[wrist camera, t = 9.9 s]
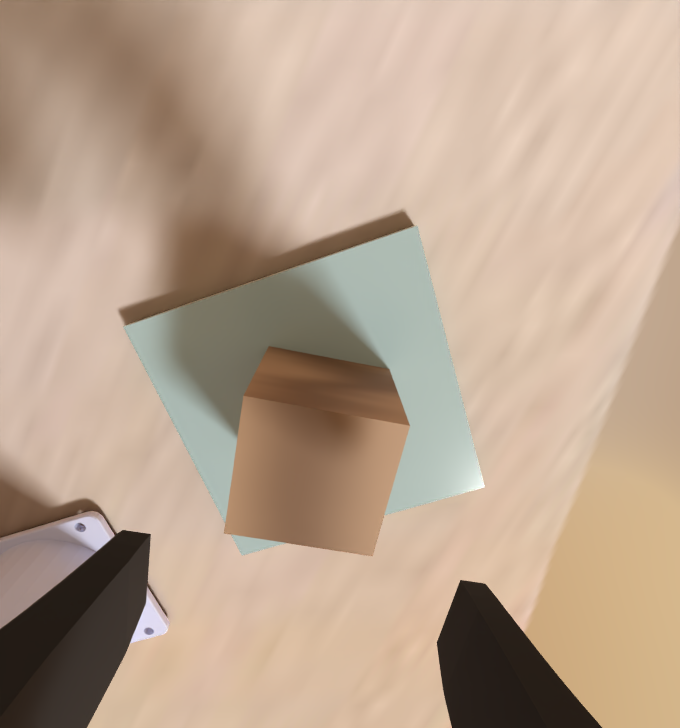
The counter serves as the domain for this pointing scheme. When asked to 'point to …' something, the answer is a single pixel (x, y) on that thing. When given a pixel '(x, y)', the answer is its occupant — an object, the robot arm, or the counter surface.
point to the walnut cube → (316, 452)
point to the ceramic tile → (323, 338)
